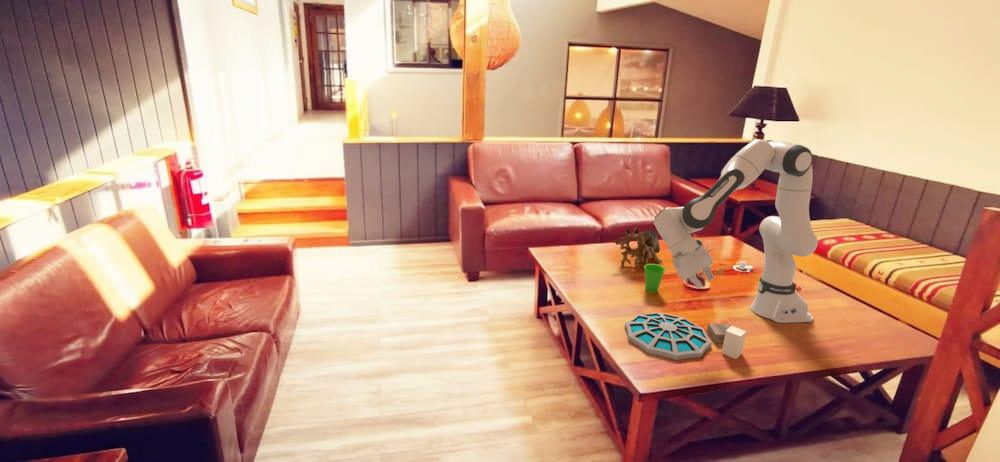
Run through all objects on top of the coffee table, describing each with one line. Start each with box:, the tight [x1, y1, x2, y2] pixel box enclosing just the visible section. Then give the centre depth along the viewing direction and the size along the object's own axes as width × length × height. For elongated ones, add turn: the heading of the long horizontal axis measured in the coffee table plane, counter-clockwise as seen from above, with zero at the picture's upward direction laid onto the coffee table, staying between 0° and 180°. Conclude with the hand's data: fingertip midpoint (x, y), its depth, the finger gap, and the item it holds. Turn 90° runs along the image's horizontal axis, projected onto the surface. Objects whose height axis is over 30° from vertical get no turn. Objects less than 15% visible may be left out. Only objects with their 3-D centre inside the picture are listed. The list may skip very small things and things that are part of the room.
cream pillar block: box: [721, 325, 747, 360], centre depth 169 cm, size 5×5×9 cm
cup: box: [643, 263, 666, 294], centre depth 215 cm, size 9×9×11 cm
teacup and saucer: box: [732, 260, 754, 273], centre depth 242 cm, size 9×8×4 cm
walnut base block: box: [706, 322, 732, 344], centre depth 179 cm, size 8×8×4 cm
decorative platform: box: [624, 312, 713, 361], centre depth 179 cm, size 31×29×5 cm
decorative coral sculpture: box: [614, 227, 663, 269], centre depth 246 cm, size 24×22×29 cm
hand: (706, 283), depth 171 cm, fingers open, 8 cm apart
